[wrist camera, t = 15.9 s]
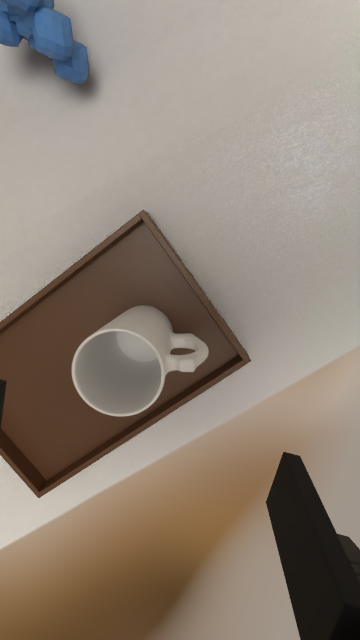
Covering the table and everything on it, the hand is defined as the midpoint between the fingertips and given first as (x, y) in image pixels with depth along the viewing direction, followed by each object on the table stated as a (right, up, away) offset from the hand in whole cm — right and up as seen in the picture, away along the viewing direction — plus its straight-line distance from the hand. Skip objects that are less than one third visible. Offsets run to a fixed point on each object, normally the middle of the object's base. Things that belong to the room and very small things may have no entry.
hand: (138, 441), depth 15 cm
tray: (-8, +1, +22) cm, 23 cm away
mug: (0, +4, +20) cm, 21 cm away
